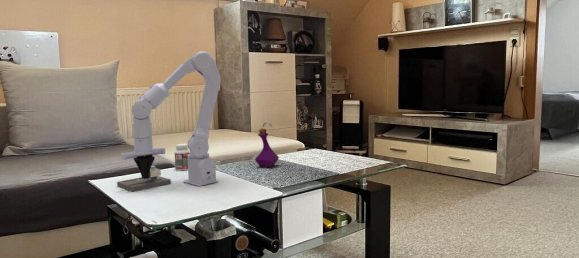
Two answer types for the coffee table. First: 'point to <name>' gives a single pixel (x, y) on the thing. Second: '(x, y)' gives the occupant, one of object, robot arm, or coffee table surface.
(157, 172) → the cream fader
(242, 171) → the coffee table surface
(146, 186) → the mixer panel
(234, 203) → the coffee table surface
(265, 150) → the perfume bottle
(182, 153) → the pill bottle
